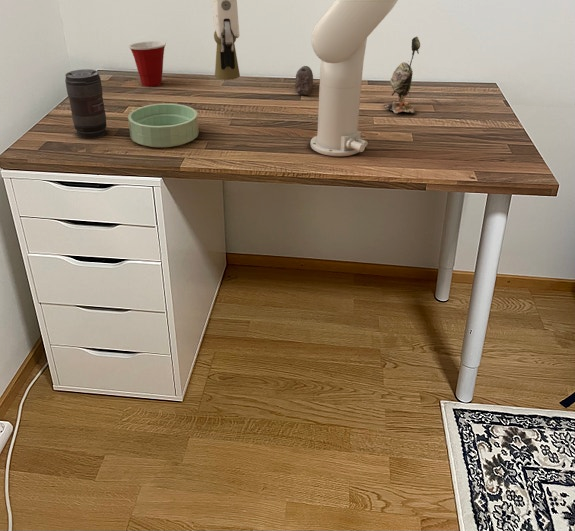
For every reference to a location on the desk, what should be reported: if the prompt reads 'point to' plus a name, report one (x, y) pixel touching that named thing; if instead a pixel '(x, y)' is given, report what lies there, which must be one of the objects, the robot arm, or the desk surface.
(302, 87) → the perforated stone tool
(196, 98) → the desk surface
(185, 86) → the desk surface
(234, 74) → the tan pawn
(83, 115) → the camera lens
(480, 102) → the desk surface
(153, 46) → the plastic cup
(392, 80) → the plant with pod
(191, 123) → the bowl
